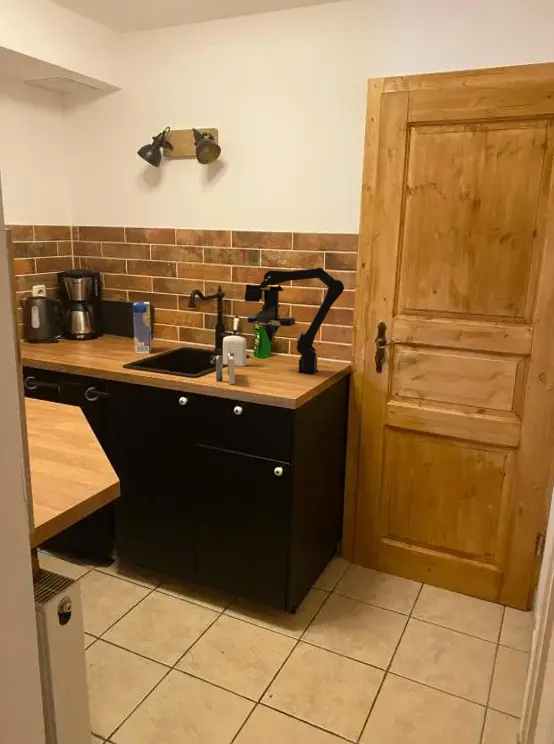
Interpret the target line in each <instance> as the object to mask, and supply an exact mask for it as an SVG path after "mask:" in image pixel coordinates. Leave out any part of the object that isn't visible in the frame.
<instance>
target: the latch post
mask: <svg viewBox="0 0 554 744" xmlns="http://www.w3.org/2000/svg"><path fill="white" fill-rule="evenodd" d="M223 365H224V364H223V355H215V368H216V369H215V380H216V382H223V381H224V379H223V377H224V375H223V374H224V373H223Z"/></svg>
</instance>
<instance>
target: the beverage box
mask: <svg viewBox="0 0 554 744" xmlns="http://www.w3.org/2000/svg"><path fill="white" fill-rule="evenodd" d="M132 321H133V325H132V326H133V343H134V344H133V345H134V354H135V353H139V354H151V351H152V349H151V348H152V328H151V327H152V325H151V302H149V301H144V302H143V301H140V302H139V301H136V302H133V304H132Z"/></svg>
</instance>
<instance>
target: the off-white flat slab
mask: <svg viewBox="0 0 554 744" xmlns="http://www.w3.org/2000/svg"><path fill="white" fill-rule="evenodd" d="M235 373H236V371H235V359H234V358H233V356H229V375H228V384H229V385H235V382H236V380H235V379H236V378H235V377H236V376H235Z"/></svg>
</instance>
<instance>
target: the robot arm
mask: <svg viewBox="0 0 554 744" xmlns="http://www.w3.org/2000/svg"><path fill="white" fill-rule="evenodd" d="M312 279H319V280H320V281H321V282H322V283H323V284H324V285H325V286H327V289H326V292H325V295H324V298H323V300H322V303H321V304H320V306H319V308H318V310H317V312H316V313H315V315H314V316H313V319H312V321H311V323H310V324H309V326H308V328H307V330H305V332H303V331H301V332H300V335H299V337H298V338H297V339H296V341H295V342H296V351H297V353H299V354H300V356H299V359H298V371H297V373H300V374H308V375H309V374H310V375H314V374H316V373H318V372H319V369H318V356H317V350H316V348H315V347H314V346H313V344H314V341H315V338H316V335H317V333H318V332H319V329H320V327H321V326H322V324H323V322H324V321H325V319H326V316H327V314H328V313H329V311H330V310H331V307H332V306H333V304H335V302H336V301H337V300H338V299H339V297H341V294H342V293H343V292H344V290H345V286H344V283H343V282H342V280H340V279H338V278H334V277H333V276H332V275H330V274H329V273H328V272H327V271H326V270H325V269H324V268H322V267H320V266H319V267H315V268H305V269H297V270H296V269H295V270H283V269H282V270H280V269H269V270H267V271H266V272H265V273H264V275H263V281H262V282H260V284H250V283H247V284H246V285H245V292H244V301H245V302H246V303H260V302H261V300H263V299H264V300H263V305H262V307H261V310H260V311H258V313H257V314H256V313H254V314H249V315H248V316H247V323H249V324H255V323H256V322H257V323H258V324H259V326H261V327H263V329H264V331H265V333H266V335H267V339H268V342H270V343H272V342H273V340H274V338H275V337H276V334H277V331H278V330H279V329H280V327H281V326H282V327H291V326H292V327H293V326H295V325H296V318H294V317H291V316H290V317H289V316H285V317H281V315H280V314H279V311H280V310H279V308H281V304H279V303H280V300H279V299H280V292H284V291H285V290H284V289H285V288H284V287H282V286H281V284H282V283H285V282H289V281H299V280H312ZM276 285H278V286H276ZM268 286H270V287H269V288H267V287H268Z"/></svg>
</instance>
